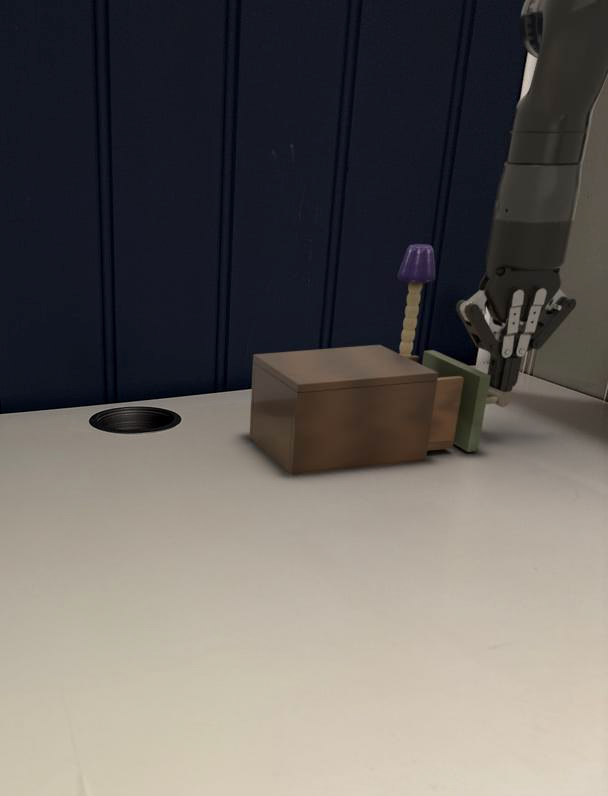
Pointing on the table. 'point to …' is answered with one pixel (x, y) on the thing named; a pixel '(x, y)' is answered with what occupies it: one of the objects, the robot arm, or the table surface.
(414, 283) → the toy lamp
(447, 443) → the drawer
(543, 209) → the robot arm
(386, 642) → the table surface
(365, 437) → the cabinet
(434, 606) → the table surface
